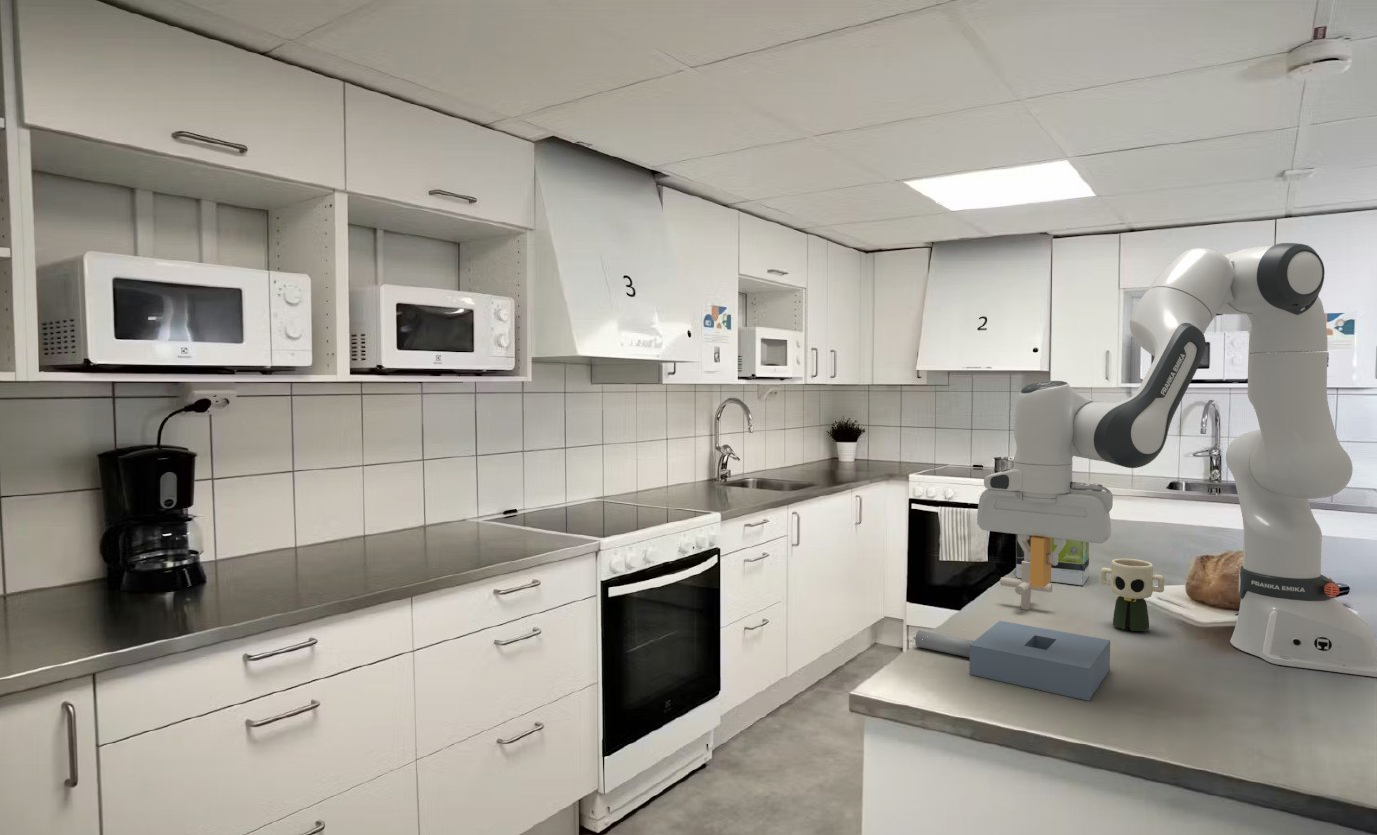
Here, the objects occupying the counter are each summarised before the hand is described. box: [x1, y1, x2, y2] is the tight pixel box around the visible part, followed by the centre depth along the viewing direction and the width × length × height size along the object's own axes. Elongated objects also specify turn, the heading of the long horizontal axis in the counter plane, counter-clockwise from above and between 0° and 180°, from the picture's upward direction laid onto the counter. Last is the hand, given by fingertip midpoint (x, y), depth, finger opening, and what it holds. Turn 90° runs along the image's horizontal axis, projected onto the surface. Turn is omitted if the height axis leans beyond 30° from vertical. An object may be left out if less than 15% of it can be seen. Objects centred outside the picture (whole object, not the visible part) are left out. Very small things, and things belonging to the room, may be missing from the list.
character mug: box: [1100, 558, 1165, 632], centre depth 153 cm, size 11×7×13 cm, turn 50°
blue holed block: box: [914, 620, 1111, 701], centre depth 136 cm, size 30×16×5 cm, turn 52°
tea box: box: [1015, 534, 1090, 586], centre depth 192 cm, size 15×10×15 cm, turn 56°
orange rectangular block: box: [1030, 536, 1052, 588], centre depth 131 cm, size 5×2×8 cm, turn 142°
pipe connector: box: [999, 561, 1053, 611], centre depth 167 cm, size 10×10×10 cm
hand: (1041, 563), depth 131 cm, fingers closed on orange rectangular block, 2 cm apart
